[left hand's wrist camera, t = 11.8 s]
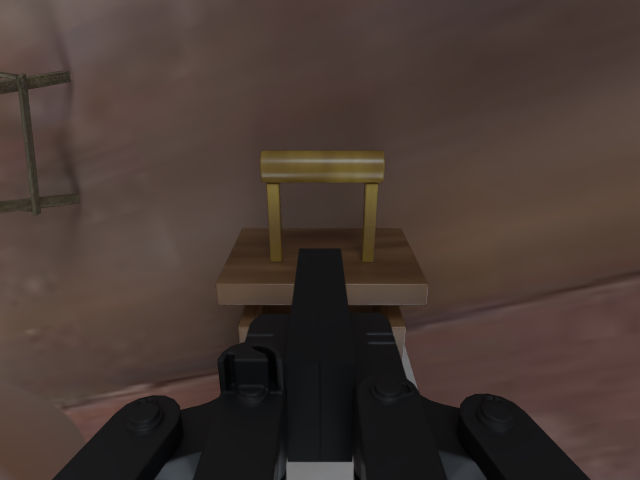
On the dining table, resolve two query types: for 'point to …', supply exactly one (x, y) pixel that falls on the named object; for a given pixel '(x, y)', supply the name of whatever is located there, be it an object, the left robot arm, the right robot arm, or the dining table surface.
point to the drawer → (323, 246)
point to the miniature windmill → (22, 85)
